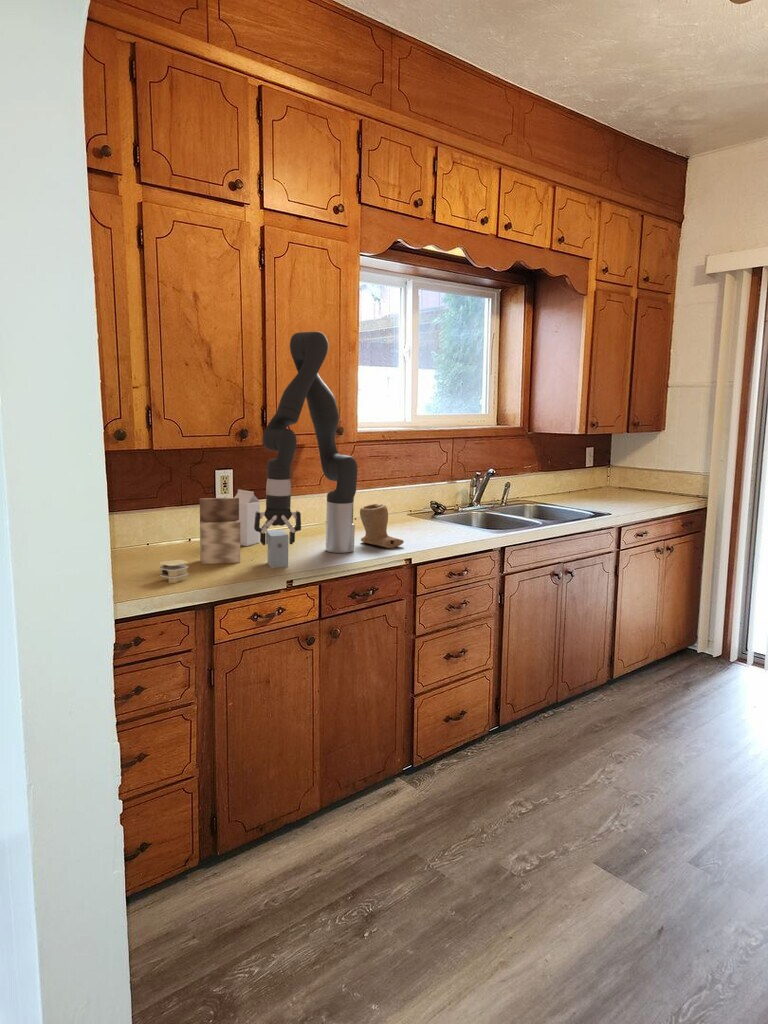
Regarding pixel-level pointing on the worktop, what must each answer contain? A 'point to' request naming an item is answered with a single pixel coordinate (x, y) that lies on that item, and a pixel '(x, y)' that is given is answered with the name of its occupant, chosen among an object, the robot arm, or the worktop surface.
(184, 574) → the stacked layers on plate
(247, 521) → the milk carton
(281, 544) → the blue-grey block
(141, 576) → the worktop surface
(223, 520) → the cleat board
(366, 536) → the tan boot vase
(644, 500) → the worktop surface
